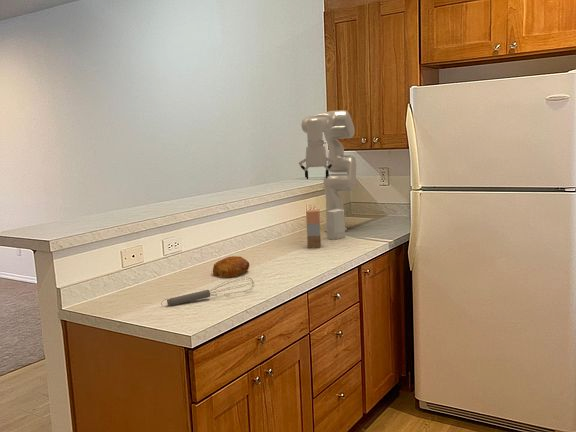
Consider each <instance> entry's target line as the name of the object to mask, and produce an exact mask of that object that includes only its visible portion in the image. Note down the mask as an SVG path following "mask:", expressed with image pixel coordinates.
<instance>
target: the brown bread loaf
mask: <svg viewBox="0 0 576 432" xmlns="http://www.w3.org/2000/svg"><path fill="white" fill-rule="evenodd" d="M249 268H250V263H249V261H248V260H247V259H245V257H242V256H236V255H235V256H227V257H225V258H223V259H220V260H218V261H217V262H215V263H214V264H213V267H212V274H213V276H215V277H220V278H227V279H229V278H230V279H233V278H236V277H237V276H238V277H239V276H241V275H242V274H244V273H246V272H247V271H248V270H249Z"/></svg>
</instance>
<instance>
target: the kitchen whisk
mask: <svg viewBox="0 0 576 432" xmlns="http://www.w3.org/2000/svg"><path fill="white" fill-rule="evenodd" d="M247 279H248V280H249V281H251V283H250V282H248V283H246V284H245V283H243V284H242V285H241V284H240V285H239V284H238V285H235V286H231V287H226V288H222V289H219V290H216V289H218V288H221V287H224V286H226V285H229V284H231V283H235V282H236V281H237V282H239V281H241V280H244V277H240V276H238V277H237V276H236V277H233V278H230V279H229V280H226V281H224V282H223V283H221V284H219V285H216V286H215V287H213V288H211V289H210V290H209V289H205V290H202V291H195V292H192V293H187V294H184V295H183V294H182V295H178V296H174V297H170V298H166V299H164V300H162V301H161V303H160V304H161V306H162V307H163V306H164V305H163V304H162V303H163V302H164V301H166V303H167V306H168V307H172V306H177V305H182V304H185V303H190V302H194V301H198V300H203V299H208V298H210V297H212V296H213V297H215V296H216V293H219V292H221V291H222V292H223V291H224V292H225V291H226V290H227V291H229V290H230V289H231V290H233V289H235V288H236V289H239V287H240V288H242V287H243V286H244V287H246V286H247V285H248V286H250V285H252V286H251V287H250V288H249V289H247V290H242V291H241V293H242V292H243V293H245V292H246V293H245V294H248V293H250V291H251V290H253V289H254V287H255V282H254V281H253V280H254V279H252V278H251V277H249V276H247ZM229 281H230V282H229ZM214 290H216V291H214ZM249 290H250V291H249ZM247 291H248V292H247ZM238 293H239V291H238V292H235V294H238ZM231 294H232V292H229V293H225V295H228V296H231Z"/></svg>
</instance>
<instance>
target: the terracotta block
mask: <svg viewBox="0 0 576 432" xmlns="http://www.w3.org/2000/svg"><path fill="white" fill-rule="evenodd" d="M320 212H321V210H320V209H307V210H306V212H305V215H306V216H305V217H306V225H307V224H319V223H320V224H321V217H320V216H321V215H320V214H321V213H320Z"/></svg>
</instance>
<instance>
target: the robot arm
mask: <svg viewBox="0 0 576 432" xmlns="http://www.w3.org/2000/svg"><path fill="white" fill-rule="evenodd" d="M300 124H301V129H302V131H303V132H304V133H305V134H306V137H307V138H306V139H307V146H306V148H305V158H304V159H302V160H301V161H299V162H298V165H299V166H300V168H301V169H302V170H303V171H304V177H305V179H306V180H309V171H308V169H309V168H319V167H320V168H321V167H322V168H323V167H324V168H325V175H324V178H323V188H324V193H325V210H326V211H330V210H334V209H341V210H344V199H343V196H342V195H341V194H340V192H352V191H354V189H355V187H356V180H357V178H356V177H357V160H356V157H355V156H353V155H349V154H346V155H345V154H344V153H345V147H344V146H343V144H342V143H341V142H340V141H339V139H340V140H341V139H343V140H344V139H351V138H353V137H354V135H355V132H356V130H355V126H354V122H353V119H352V117H351V114H350V113H349V112H348V111H347V110H345V109H343V110H330V111H325V112H324V113H319V114H315V115H314V114H313V115H309V116H305V117H304V118H303V119H302V121H301V123H300ZM323 135H324V139H325V140H324V139H323ZM325 144H327V147H328V156H327V151H326V146H325ZM304 163H305V166H304ZM329 172H330V173H329ZM326 211H325V212H326ZM347 230H348V229H347V227H346V226H345V232H346V231H347ZM323 231H324V232H326V233H327V227H325V228H324V229H323Z"/></svg>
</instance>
